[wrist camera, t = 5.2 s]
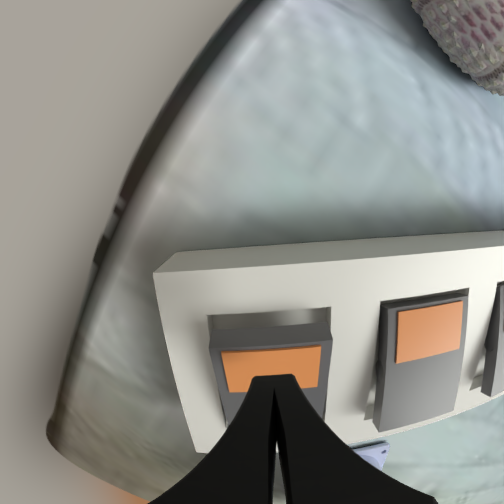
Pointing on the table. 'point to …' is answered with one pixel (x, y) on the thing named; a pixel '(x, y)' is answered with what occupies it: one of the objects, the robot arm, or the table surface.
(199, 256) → the rocker switch panel
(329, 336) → the rocker
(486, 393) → the rocker
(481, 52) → the sea urchin shell
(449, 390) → the rocker middle
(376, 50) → the table surface
